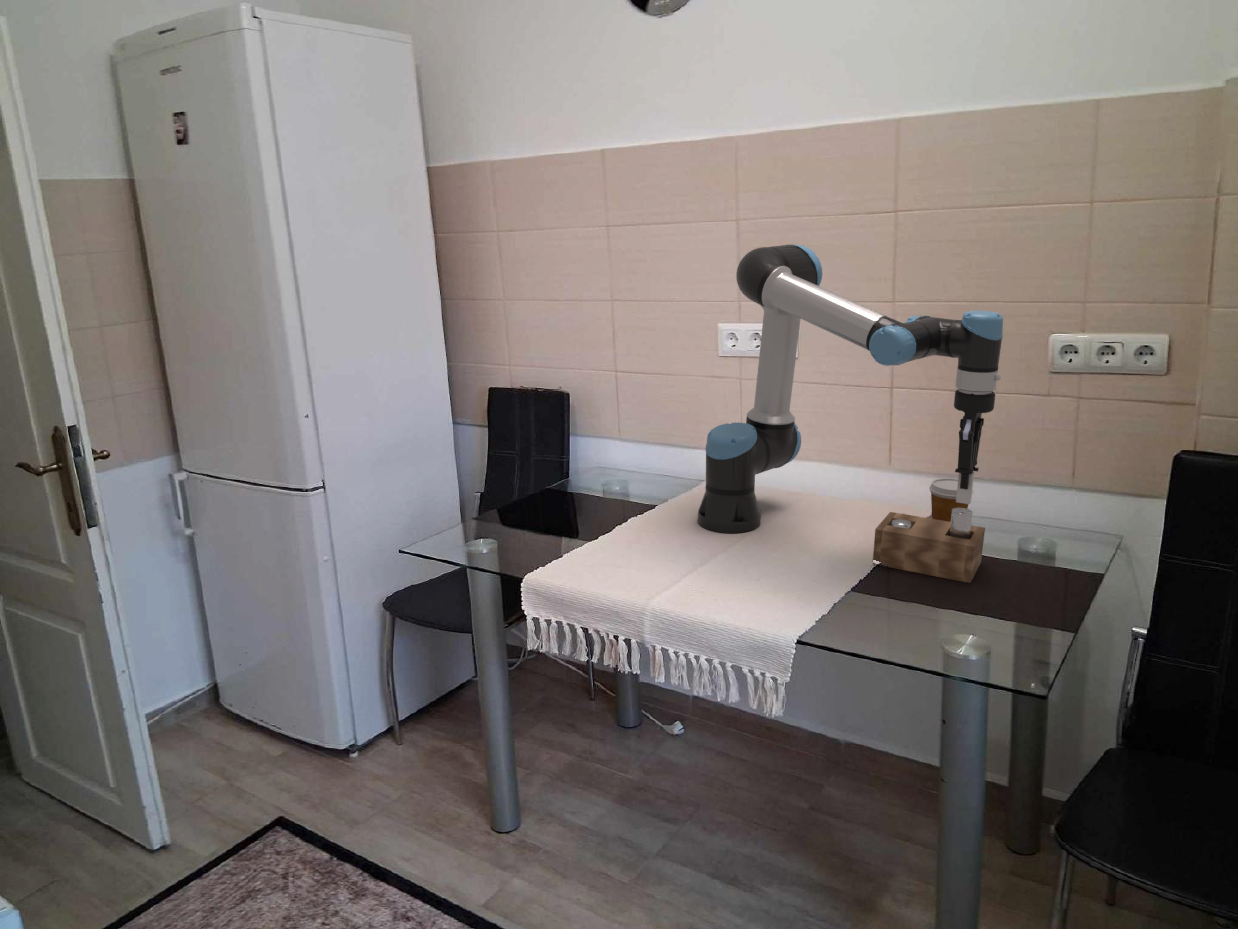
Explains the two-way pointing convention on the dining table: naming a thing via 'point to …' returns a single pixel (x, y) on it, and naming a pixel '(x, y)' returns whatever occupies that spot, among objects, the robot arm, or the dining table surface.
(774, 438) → the robot arm
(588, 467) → the dining table surface
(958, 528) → the pin
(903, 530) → the socket block
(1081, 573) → the dining table surface
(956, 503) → the disposable coffee cup
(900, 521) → the pin
